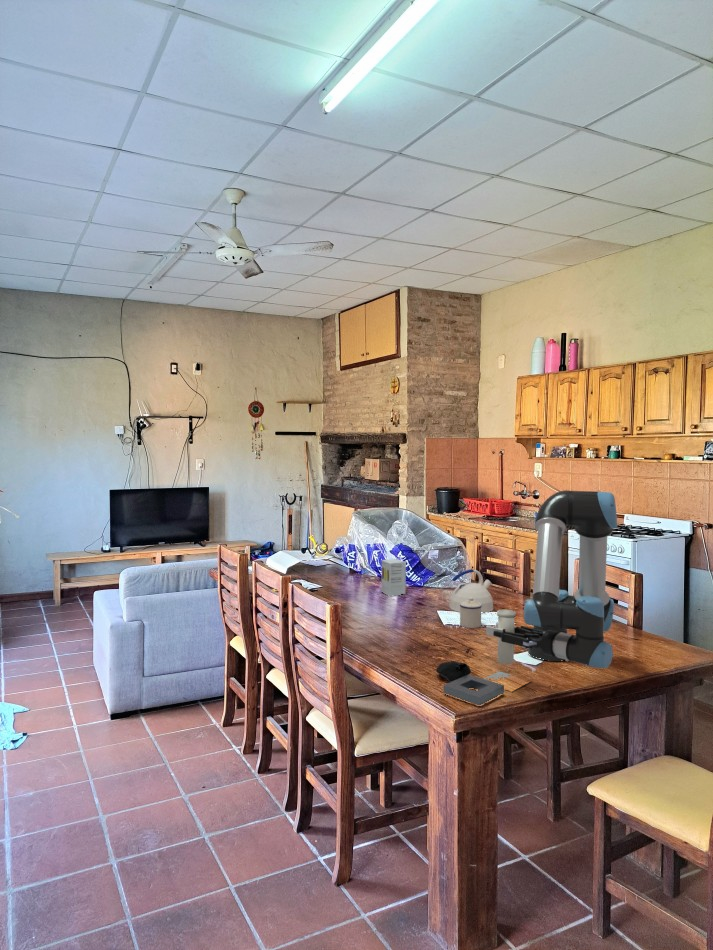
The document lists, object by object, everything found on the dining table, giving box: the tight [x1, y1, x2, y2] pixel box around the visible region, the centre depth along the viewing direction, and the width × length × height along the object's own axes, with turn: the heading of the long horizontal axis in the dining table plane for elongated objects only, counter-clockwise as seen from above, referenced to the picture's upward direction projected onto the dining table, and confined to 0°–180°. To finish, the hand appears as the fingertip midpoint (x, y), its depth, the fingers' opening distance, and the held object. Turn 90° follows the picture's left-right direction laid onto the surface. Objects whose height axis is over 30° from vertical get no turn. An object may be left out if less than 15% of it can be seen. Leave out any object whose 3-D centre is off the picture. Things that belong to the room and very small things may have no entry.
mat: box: [483, 671, 511, 680], centre depth 207 cm, size 12×12×1 cm
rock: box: [436, 660, 472, 683], centre depth 209 cm, size 9×10×10 cm
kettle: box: [448, 568, 494, 613], centre depth 297 cm, size 20×21×18 cm
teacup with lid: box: [459, 597, 482, 629], centre depth 271 cm, size 12×9×12 cm
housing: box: [443, 674, 505, 705], centre depth 196 cm, size 13×13×3 cm
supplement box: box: [380, 558, 407, 597], centre depth 324 cm, size 10×9×17 cm
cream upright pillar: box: [496, 609, 517, 665], centre depth 206 cm, size 6×6×16 cm
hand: (491, 628), depth 209 cm, fingers closed on cream upright pillar, 5 cm apart
